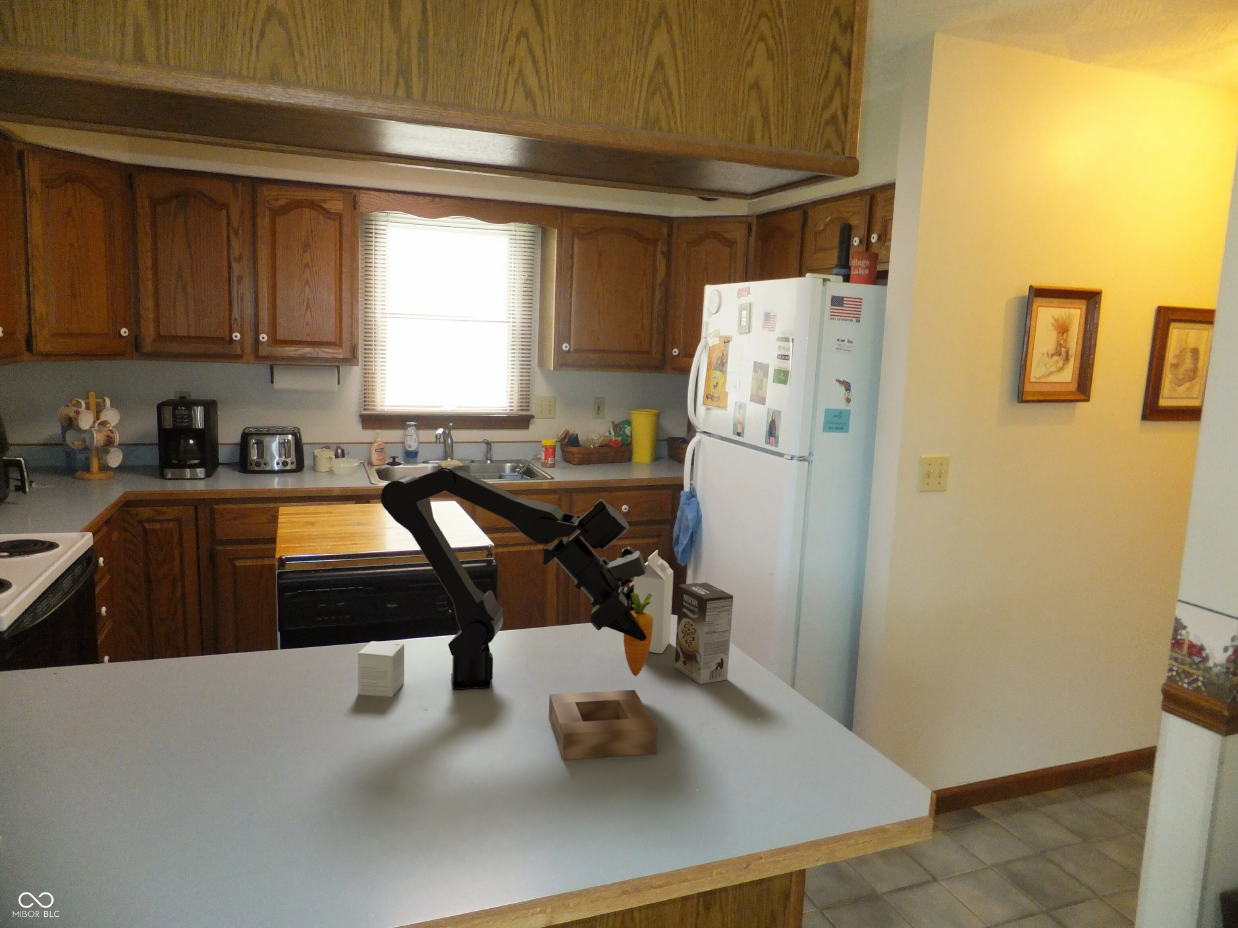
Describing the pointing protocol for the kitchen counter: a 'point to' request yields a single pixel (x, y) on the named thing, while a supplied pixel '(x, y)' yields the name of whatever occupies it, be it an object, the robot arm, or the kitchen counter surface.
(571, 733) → the walnut socket block
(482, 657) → the robot arm
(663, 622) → the milk carton
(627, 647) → the carrot
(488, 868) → the kitchen counter surface
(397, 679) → the product box
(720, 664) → the coffee box
